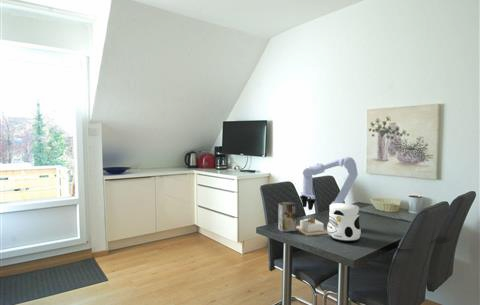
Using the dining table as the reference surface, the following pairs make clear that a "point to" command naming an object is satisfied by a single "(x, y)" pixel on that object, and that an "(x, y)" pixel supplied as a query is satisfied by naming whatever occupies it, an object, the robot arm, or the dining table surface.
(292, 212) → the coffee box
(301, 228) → the butter dish
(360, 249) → the dining table surface
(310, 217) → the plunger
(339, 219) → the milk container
